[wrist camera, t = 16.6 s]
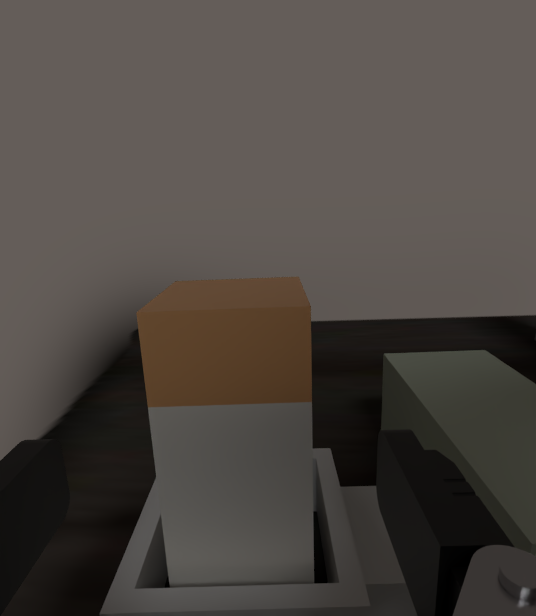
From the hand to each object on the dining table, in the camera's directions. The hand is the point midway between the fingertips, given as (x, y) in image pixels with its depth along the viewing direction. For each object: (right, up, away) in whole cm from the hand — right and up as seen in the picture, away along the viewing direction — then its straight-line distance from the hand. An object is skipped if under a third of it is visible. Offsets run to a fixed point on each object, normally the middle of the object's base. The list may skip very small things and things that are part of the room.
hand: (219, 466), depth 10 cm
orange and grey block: (0, -7, +7) cm, 10 cm away
